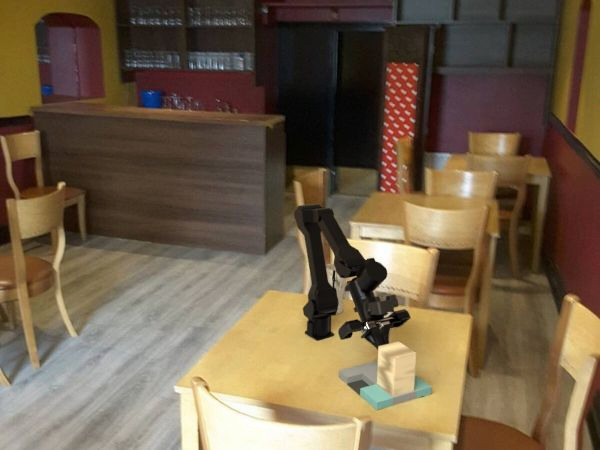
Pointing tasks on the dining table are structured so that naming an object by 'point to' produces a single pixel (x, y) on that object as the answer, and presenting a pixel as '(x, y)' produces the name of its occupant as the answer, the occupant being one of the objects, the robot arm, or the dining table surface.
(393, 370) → the maple block
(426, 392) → the mint green slab
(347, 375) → the board
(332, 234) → the robot arm
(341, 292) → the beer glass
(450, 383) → the dining table surface
